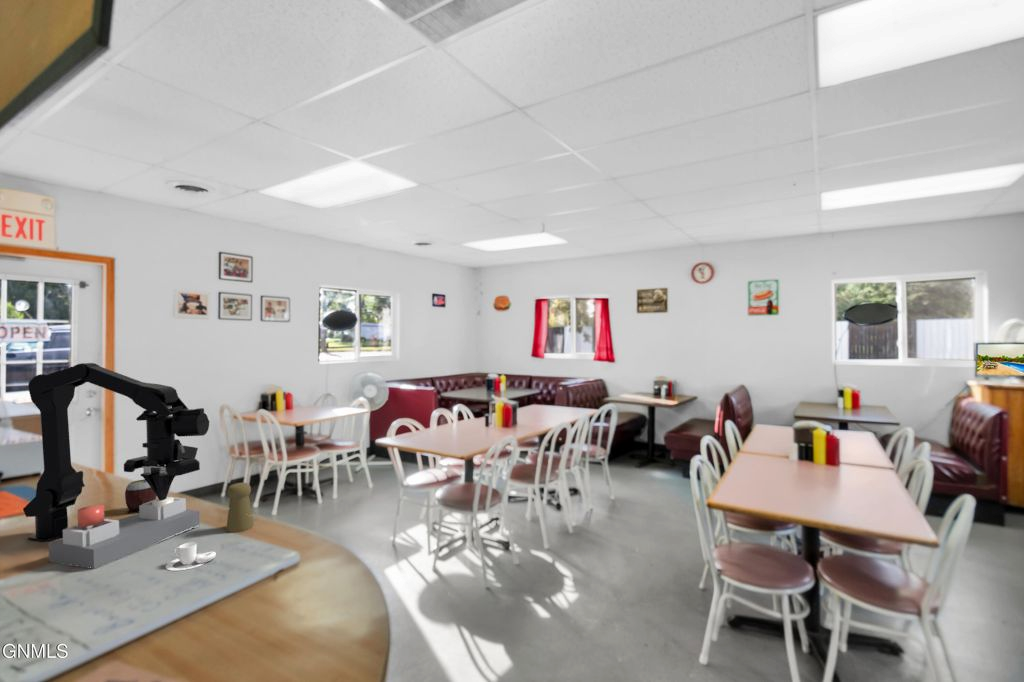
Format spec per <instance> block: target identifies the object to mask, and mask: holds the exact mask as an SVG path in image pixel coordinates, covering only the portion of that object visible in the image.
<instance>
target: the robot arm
mask: <svg viewBox="0 0 1024 682" xmlns="http://www.w3.org/2000/svg"><path fill="white" fill-rule="evenodd" d="M86 383H89V384H92V385H94V386H97V387H100V388H103V389H105V390H108V391H111V392H114V393H117V394H119V395H122V396H124V397H127V398H129V399H131V401H132V402H133V403H134V404H135V405H137V406H139V408H142V409H143V412H142V413H141V414H140V415H138V416H137V417H136V418H135V419H136V421H138V422H139V421H145V422H146V425H145V426H146V427H145V428H146V442H142V448H145V449H146V453H147V454H146V455H143V456H138V457H134V458H130V459H127V460H126V461H125V462H124V463H123V472H125V473H134V472H135V470H137V469H143V472H142V473H140V477H142V478H143V480H144V479H145V480H146V481H147V483H148V484H149V485H150V487H151V488H152V490H153V491H154V493H155V494H156V498H157V499H159V500H165V499H166V497H168V494H169V492H170V489H171V485H172V482H174V479H175V477H176V476H177V477H179V476H182V475H186V474H190V473H193V472H197V471H200V470H201V469H200V468H201V467H200V461H199V460H198V459H196V457H197V452H198V447H197V446H196V447H194V446H188V445H184V444H182V442H181V441H180V439H179V438H176V436H177V437H198V436H199V437H200V436H201V437H202V436H205V435H206V434H207V433H208V431H209V428H210V420H209V417H208V415H207V414H206V413H205V408H204V407H203V408H202V407H199V408H194V409H193V408H191V409H190V408H189V407H188V406H187V405H186V404H185V403H184V402H183V401H182V400H181V398H180V397H179V395H178V393H177V389H175V388H174V387H173V386H170V385H165V384H159V383H153V382H152V383H150V382H145V381H144V382H143V381H141V380H138V379H135V378H132V377H129V376H126V375H124V374H122V373H119V372H116V371H113V370H110V369H108V368H105V367H102V366H101V365H99V364H97V363H94V362H86V363H77V364H75V365H73V366H70V367H68V368H67V367H66V368H64V369H61V370H57V371H54V372H51V373H42V374H41V373H40V374H36V375H35V376H33V377H32V379H30V380H29V381H28V386H27V387H28V392H29V396H30V401H31V402H32V403H33V405H34V406H35V407H36V408H37V409H38V410H39V412H40V427H41V428H40V429H41V441H42V445H41V446H42V458H43V471H42V473H41V475H40V477H39V479H38V481H37V483H36V489H35V497H34V498H32V499H31V500H30V501H29V502H28V503H27V504H26V505H25V506H24V507H23V508H22V509H23V513H24V515H25V518H29V517H30V518H32V517H34V524H35V534H33V535H30V536H27V540H31V541H37V542H48V541H51V540H54V539H56V538H60V537H63V530H64V529H67V528H68V527H69V516H68V507H70V506H74V505H76V501H77V500H78V497H79V496H80V495H81V493H82V492H83V488H84V487H85V486H86V485H85V482H84V480H83V479H84V472H83V470H79V471H76V469H75V468H74V467H73V465H72V458H71V457H72V456H71V441H70V428H69V427H70V426H69V425H70V424H69V413H68V409H69V407H70V405H71V402H72V401H73V399H74V397H75V391H76V390H75V389H76V388H78V387H80V386H82V385H85V384H86ZM175 435H176V436H175Z"/></svg>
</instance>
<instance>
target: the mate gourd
mask: <svg viewBox="0 0 1024 682" xmlns="http://www.w3.org/2000/svg"><path fill="white" fill-rule="evenodd" d="M124 491H125V492H124V496H125V497H124V498H125V499H124V500H125V504H126V507H127V511H126V512H127V514H130V513H135V512H139V506H140V505H142V504H144V503H147V502H150V501H153V500H155V499H157V496H156V494H155V493H154V491H153V490H152V488H151V487H150V485H149V484H148V483H147V481H146V480H145V479H144V478H143V479H138V480H137V479H136V480H133V481H132V482H129V483H128V484H127V485H126V487H125V490H124Z"/></svg>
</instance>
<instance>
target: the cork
mask: <svg viewBox="0 0 1024 682" xmlns="http://www.w3.org/2000/svg"><path fill="white" fill-rule="evenodd" d="M226 492H227V493H226V494H227V497H228V498H229V503H228V504H229V505H228V514H227V520H226V521H227V523H226V529H225V531H226V532H227V533H240V532H245V531H249V530H250V529H252V528H253V527H254V519H253V512H252V508H251V504H250V503H251V502H250V497H249V496H250V494H251V492H252V488H251V485H250V483H249V482H236V483H233V484H231V485H229V486H228V488H227V491H226ZM229 508H230V509H229ZM247 514H248V515H247ZM249 515H252V516H249Z"/></svg>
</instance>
